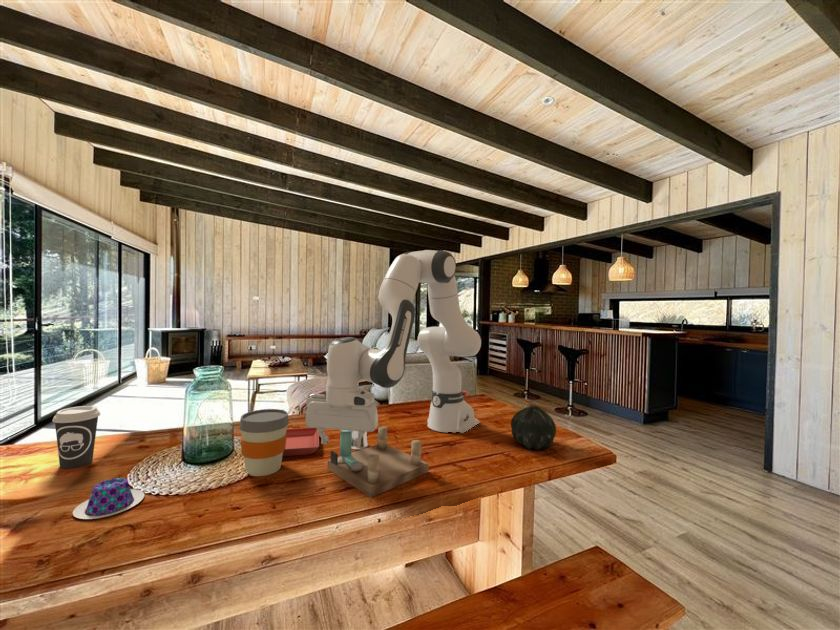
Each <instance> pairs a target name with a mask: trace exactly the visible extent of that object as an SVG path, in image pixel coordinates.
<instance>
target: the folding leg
mask: <svg viewBox="0 0 840 630" xmlns="http://www.w3.org/2000/svg"><path fill="white" fill-rule="evenodd" d="M339 431H340V432H339V433H340V434H339V435H340V437H339V438H340V439H339V457H340V456H342V459H343V460H344V461H345V462H346V463H347V464H348V465H349V466H350V467H351V470H352V471H361V470H362V469H363V463H362V462H358V461H357V460H356V459H355V458H354V457H353V456H352V455H351V453H352V449H351V446H352V431H351V430H339Z"/></svg>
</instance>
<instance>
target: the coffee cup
mask: <svg viewBox="0 0 840 630" xmlns="http://www.w3.org/2000/svg"><path fill="white" fill-rule="evenodd" d="M100 416H101V412H100V410H99V409H98V408H97V406H95V405H94V406H93V405H82V406H81V405H79V406H74V407H73V406H71V407H67V408H63V409H60V410H58V411H57V412H56V413H55V415H54V416H53V418H52V422H53V423H54V426H55V434H56V436H55V437H56V445H57V452H58V454H57V455H58V461H59V463H58V464H59V468H60V469H63V470H64V469H65V470H69V469H76V468H80V467H83V466H86V465H87V466H88V465H89V464H91V463H92V462H93V459H94V452H95V442H96V437H97V436H96V435H97V428H98V427H97V426H98V420H99V417H100Z"/></svg>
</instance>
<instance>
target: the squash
mask: <svg viewBox="0 0 840 630" xmlns="http://www.w3.org/2000/svg"><path fill="white" fill-rule="evenodd" d="M510 428H511V436H512V437H513V439H514V440H515V441H516V442H517V443H519V444H521V445H523V446H524V447H525V448H527V449H529V450H531V449H532V448H533V449H535V450H537V451H539V450H541V449H548V448H550V446H551V445H552V444H553V442H554V440H555V437H556V434H557V426H556V422H555V421H554V419H553V418H552V417H551V415H550V414H549V413H547V412H546V411H545V410H543V409H541V408H540V407H539V406H537V405H530V406H527V407H524V408H522V409H521V410H518V411H517V412H515V413H514V414H513V417H512V418H511V420H510Z"/></svg>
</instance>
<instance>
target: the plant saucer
mask: <svg viewBox="0 0 840 630" xmlns="http://www.w3.org/2000/svg"><path fill="white" fill-rule="evenodd" d="M286 431H287V439H286V446H285V450H284V451H283V455H282V457H290V456H291V457H292V456H300V455H302V456H303V455H312V454H314V453H315V452H316V451H317V450H318V449H319V447H320V438H319V437H320V435H319V434H318V428H309V427H303V428H302V427H301V428H299V427H298V428H287V429H286Z"/></svg>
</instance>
